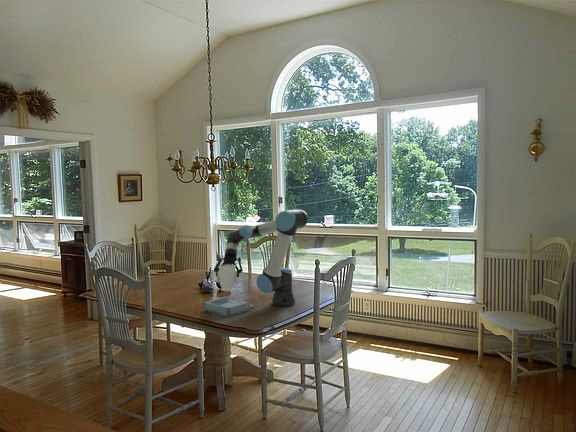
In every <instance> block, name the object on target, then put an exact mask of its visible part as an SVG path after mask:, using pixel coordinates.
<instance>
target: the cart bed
mask: <svg viewBox="0 0 576 432" xmlns="http://www.w3.org/2000/svg"><path fill="white" fill-rule="evenodd" d="M228 298H229V297H228V296H223V297H219V298H216V299H212V300H208V301H206V302H203V310H204V311H205V312H207V313H208V312H209V313H212V314H216V315H220V316H223V317H228V318H229V317H233V316H236V315H238V314H241V313H245V312H248V311H251V309H252V308H255V304H251V301H241V300H240V301H237V300H231V301H229V299H228Z"/></svg>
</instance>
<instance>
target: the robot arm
mask: <svg viewBox="0 0 576 432" xmlns="http://www.w3.org/2000/svg"><path fill="white" fill-rule="evenodd" d="M308 221H309V216H308V214H307V212H306V211H305V210H302V209H301V208H297V209H286V210H285V209H284V210H281V211H280V212H278V214H277V215H276V217H275V219H274V220H271V221H268V222H264V223H260V224H257V225H248V224H245V225H242V226H241V227H240V228H238V229H237V230H236V229H232V230H230V231H229V232H228V236H227V241H226V245H225V252H224V257H218V261H217V262H216V265H215V266H214V268H213V271H214V273H215V277H216V282H217V283H220V281H219V268H218V266H220V265H227V264H231V265H236V267H235V270H236V274H235V283H237V281H238V278H239V277H240V273H243V271H244V270H243V267H242V266H243V265H242V258H241V257H237V256H238V249H239V245H240V243H241V242H242V241H244V240H247V239H252V238H261V237H263V236H266V235H268V234H273V233H277V235H276V238H275V241H274V244H273V247H272V250H271V253H270V257H269V259H268V261H267V262H268V263H267V266H265V267H264V268H263V269H262V273H261V274H259V275H257V277H256V281H255V282H256V286H257V289H258V290H259V291H260V292H261V293H264V294H269V293H272V292H273V295H272V298H271V305H272V306H276V307H290V306H294V305H295V304H296V298H295V296H294V293H293V270H292V269H291V268H289V267H283V266H284V265H283V264H284V261H285V258H286V255H287V252H288V250H289V246H290V243H291V240H292V237H294V236H295V235H296V233H297V230H299V229H302V228H304V227H306V225H307V224H308ZM236 261H237V262H238V265H237V263H236ZM238 266H239V267H238Z"/></svg>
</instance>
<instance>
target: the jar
mask: <svg viewBox="0 0 576 432" xmlns="http://www.w3.org/2000/svg"><path fill="white" fill-rule="evenodd" d="M236 265H237V264H236ZM236 265H233V264H232V265H231V264H227V265H221V264H220V266H218V268H219V285H220V287H221V288H220V291H221V292H232V291H235V286H236V282H235V274H236V271H237V270H236V268H235V267H236Z"/></svg>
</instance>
